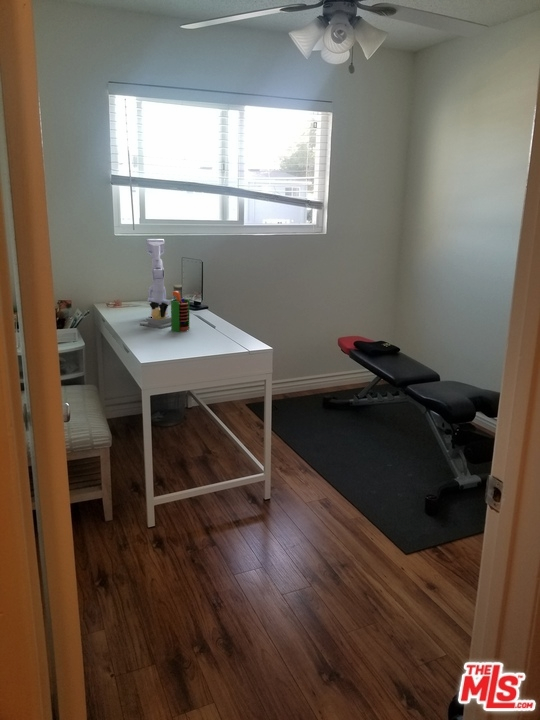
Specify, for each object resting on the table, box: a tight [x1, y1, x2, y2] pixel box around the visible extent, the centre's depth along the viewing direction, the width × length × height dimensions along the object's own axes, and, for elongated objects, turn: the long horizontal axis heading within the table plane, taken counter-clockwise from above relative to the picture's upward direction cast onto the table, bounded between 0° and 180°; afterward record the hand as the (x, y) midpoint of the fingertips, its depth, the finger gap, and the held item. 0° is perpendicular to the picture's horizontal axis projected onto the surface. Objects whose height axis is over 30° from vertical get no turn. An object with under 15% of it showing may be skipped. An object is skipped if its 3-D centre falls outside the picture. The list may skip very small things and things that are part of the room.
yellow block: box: [150, 308, 169, 320], centre depth 292 cm, size 9×4×6 cm, turn 151°
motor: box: [170, 290, 190, 333], centre depth 279 cm, size 10×9×20 cm
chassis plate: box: [139, 316, 171, 329], centre depth 293 cm, size 14×15×4 cm
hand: (159, 316), depth 292 cm, fingers closed on yellow block, 4 cm apart
